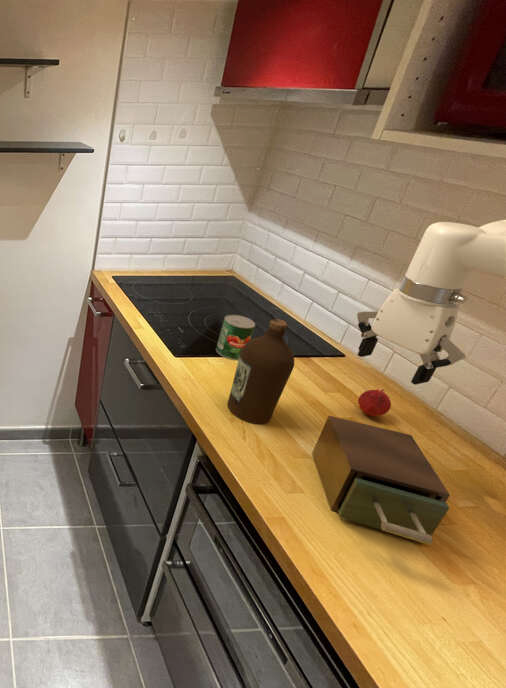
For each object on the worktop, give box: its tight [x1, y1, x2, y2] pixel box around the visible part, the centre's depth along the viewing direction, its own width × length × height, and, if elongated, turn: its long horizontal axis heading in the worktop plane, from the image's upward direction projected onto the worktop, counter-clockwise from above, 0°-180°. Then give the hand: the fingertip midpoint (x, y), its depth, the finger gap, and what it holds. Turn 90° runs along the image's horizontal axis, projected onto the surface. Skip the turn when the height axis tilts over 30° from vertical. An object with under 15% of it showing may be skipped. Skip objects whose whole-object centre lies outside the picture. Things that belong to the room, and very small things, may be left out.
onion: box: [357, 387, 392, 417], centre depth 107 cm, size 6×6×8 cm
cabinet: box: [311, 415, 451, 513], centre depth 86 cm, size 16×14×11 cm
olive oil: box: [227, 318, 295, 425], centre depth 104 cm, size 11×11×25 cm
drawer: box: [337, 473, 450, 546], centre depth 81 cm, size 20×12×9 cm, turn 156°
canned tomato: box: [215, 314, 256, 361], centre depth 131 cm, size 8×8×11 cm
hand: (389, 368), depth 88 cm, fingers open, 9 cm apart
